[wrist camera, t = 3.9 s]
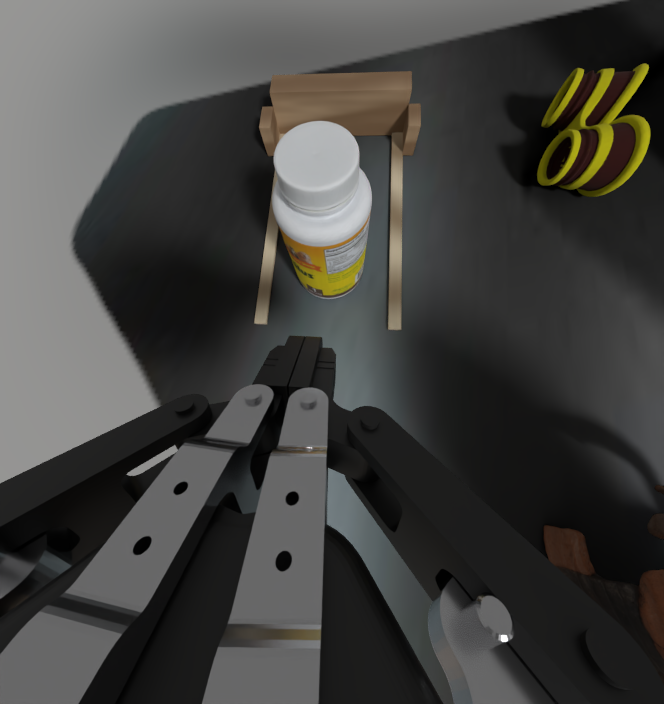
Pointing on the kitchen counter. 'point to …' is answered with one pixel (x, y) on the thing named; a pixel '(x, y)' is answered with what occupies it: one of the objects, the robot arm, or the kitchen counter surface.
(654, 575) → the brown jagged curved piece
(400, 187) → the bay
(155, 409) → the robot arm
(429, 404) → the kitchen counter surface
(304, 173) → the supplement bottle
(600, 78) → the opera glasses
